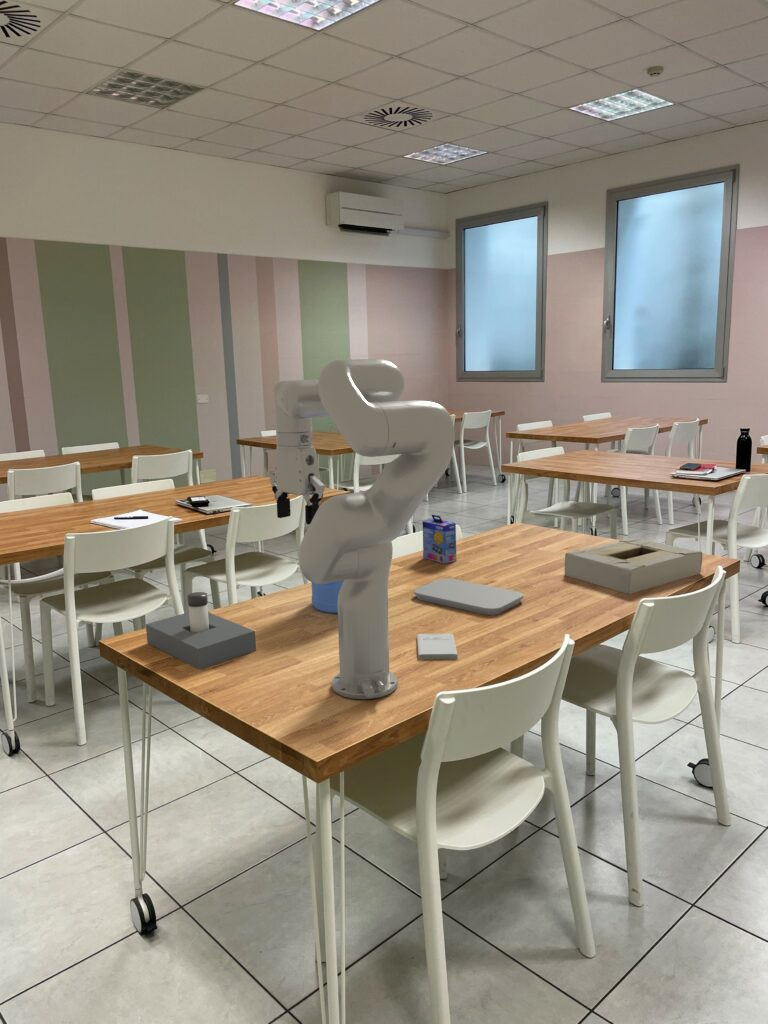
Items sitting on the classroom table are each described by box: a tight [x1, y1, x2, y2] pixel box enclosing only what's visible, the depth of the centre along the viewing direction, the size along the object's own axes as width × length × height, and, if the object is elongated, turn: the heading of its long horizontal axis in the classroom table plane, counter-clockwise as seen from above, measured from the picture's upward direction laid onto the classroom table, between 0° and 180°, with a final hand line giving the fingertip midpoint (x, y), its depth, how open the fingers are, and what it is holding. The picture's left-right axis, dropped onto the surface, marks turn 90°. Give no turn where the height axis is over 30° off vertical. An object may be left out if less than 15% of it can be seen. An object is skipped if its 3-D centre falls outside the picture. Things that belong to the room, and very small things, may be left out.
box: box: [564, 537, 704, 595], centre depth 215 cm, size 23×8×32 cm
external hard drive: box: [416, 633, 459, 660], centre depth 164 cm, size 2×8×12 cm
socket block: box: [145, 611, 257, 670], centre depth 167 cm, size 22×14×4 cm, turn 45°
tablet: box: [413, 577, 524, 616], centre depth 197 cm, size 16×26×2 cm, turn 51°
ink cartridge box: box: [422, 514, 457, 565], centre depth 235 cm, size 10×6×14 cm, turn 42°
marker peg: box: [187, 591, 209, 634], centre depth 166 cm, size 4×4×12 cm
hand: (298, 520), depth 162 cm, fingers open, 9 cm apart
